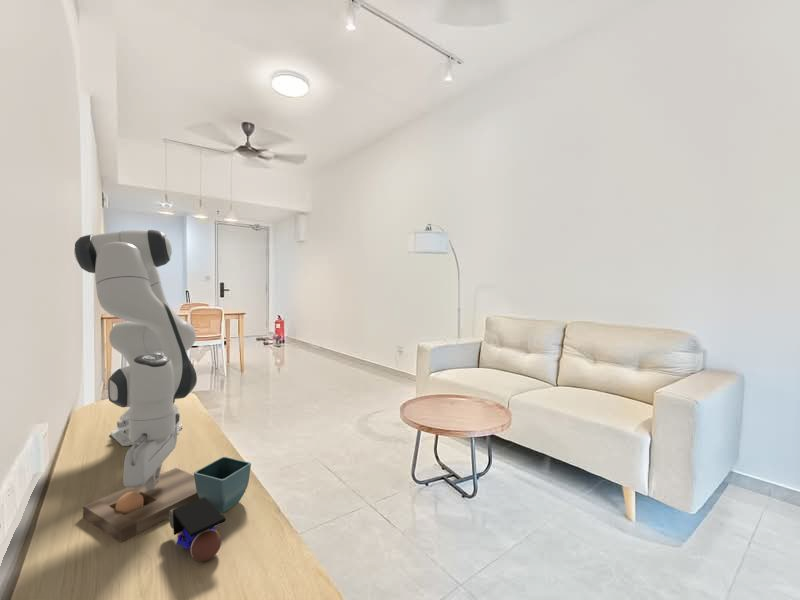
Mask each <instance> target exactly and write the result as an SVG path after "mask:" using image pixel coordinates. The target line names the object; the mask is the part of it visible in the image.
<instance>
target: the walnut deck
mask: <svg viewBox="0 0 800 600" xmlns="http://www.w3.org/2000/svg"><path fill="white" fill-rule="evenodd" d="M128 492H138V493H140V494H141V495H142V496H143V499H144V503H143V506H142V507H141V508H139V509H136V510H134V511H132V512H130V513H128V514H126V515H123V514H122V513H120V512H118V511H117V510H116V503H117V501H118V500H119V499H120V497H122V496H123V495H124V494H126V493H128ZM196 500H199V497H198V494H197V490H196V484H195V478H194V474H191V473H190V472H187V471H184V470H182V469H179V468H177V467H175V468H172V469H170V470H167V471H165V472H162V473H160V475H159V482H158V484H157V485H156V486H155V488H154V489H148V490H147V489H146V483H145V484H144V485H143V486H140V487H129V488H127V487H125V488H123V489H121V490H119V491H116V492H113V493H111V494H109V495H106V496H104V497H101V498H99V499H96V500H94V501H91V502H90V503H86V504H84V505H82V517H83V518H84V520H87V521H88V522H90V523H91V524H93V526H96V527H97V528H98V529H100V530H102V531H103V532H105V533H106V534H108V536H109V535H110V536H111V537H113V538H114V539H115V540H117V541H119V542H120V543H122V542H124V541H127V540H128V539H131V538H132V537H134V536H136V535H139V534H140V533H143V532H144V531H146V530H147V529H150V528H151V527H154V526H155V525H158V524H160V523H161V522H164V521H165V520H167V519H169V511H170V510H172V509H175V508H179V507H181V506H184V505H186V504H189V503H191V502H194V501H196Z"/></svg>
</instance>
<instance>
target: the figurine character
mask: <svg viewBox="0 0 800 600" xmlns="http://www.w3.org/2000/svg"><path fill="white" fill-rule="evenodd" d="M168 522H169V524H170V527H171V528H172V529H173V535H174V536H177V540H176V545H178V546H183V547H184V548H185V549H189V548H190V554H191V557H192V558H193V559H194V560H195V561H197V562H207V561H209V560H212V558H213V557H215V556H216V554H218V553H219V550H220V548H221V546H222V536H221V535H220V533H219V532H218V531H217V530H215V529H216V527H217V526H219V525H221V524H223V523H225V522H227V518H226V517H225V516H224V515H223V514H222V512H219V511H218V510H217V509H216V508H215V507H214V506H213V505H212V504H211V503H210V502H209V501H208V500H207V499H206V498H205V497H204V498H201V499H199V500H196V501H194V502H191V503H189V504H186V505H184V506H181V507H179V508H175V509H172V510H170V511H169V518H168Z"/></svg>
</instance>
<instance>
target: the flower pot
mask: <svg viewBox="0 0 800 600" xmlns="http://www.w3.org/2000/svg"><path fill="white" fill-rule="evenodd" d="M251 467H252V463H251V462H249V461H244V460H240V459H235V458H231V457H228V456H222V457H220V458H217V459H216V460H214V461H213V462H209V464H207V465H205V466H204V467H202V468H199V469H197V470H196V471H194V472H193V475H194V478H195V484H196V490H197V494H198V497H199V499H201V498H204V497H205V498H206V499H207V500H208V501H209V502H210V503H211V504H212V505H213V506H214V507H215V508H216V509H217V510H218V511H219V512H220V513H221V514H222V513H225V512H227V511H228V510H230V509H231V508H232V507H234V506H235V505H237V504H238V503H239V502H240V501H241V499H242V498H243V496H244V495H245V493H246V491H247V488H248V485H249V480H250V473H251Z"/></svg>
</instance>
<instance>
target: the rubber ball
mask: <svg viewBox="0 0 800 600" xmlns="http://www.w3.org/2000/svg"><path fill="white" fill-rule="evenodd" d="M143 503H144V499H143V496H142V495H141V494H140V493H138V492H128V493H126V494H124V495H123V496H122V497H120V499H119V500H118V501H117V503H116V510H117V511H118V512H120V513H122V514H123V515H126V514H128V513H130V512H132V511H134V510H136V509H139V508H141V507H143V506H144V504H143Z"/></svg>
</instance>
